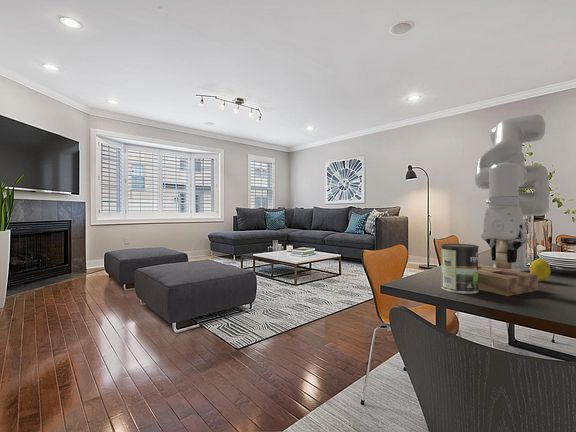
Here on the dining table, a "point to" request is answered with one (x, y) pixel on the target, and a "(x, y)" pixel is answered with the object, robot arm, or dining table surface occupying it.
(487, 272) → the mortise block
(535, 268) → the lemon
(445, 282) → the coffee can
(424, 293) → the dining table surface
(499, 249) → the dowel
